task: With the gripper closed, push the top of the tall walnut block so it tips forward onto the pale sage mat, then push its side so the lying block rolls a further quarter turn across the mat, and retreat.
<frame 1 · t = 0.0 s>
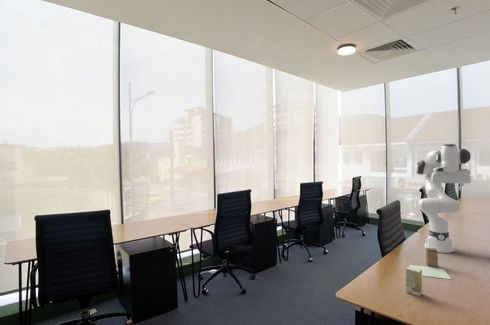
hand: (450, 190, 168), 48 cm above the table, fingers open, 8 cm apart
mat: (428, 271, 157), on the table
block: (432, 266, 165), on the table
skincare box: (414, 293, 132), on the table
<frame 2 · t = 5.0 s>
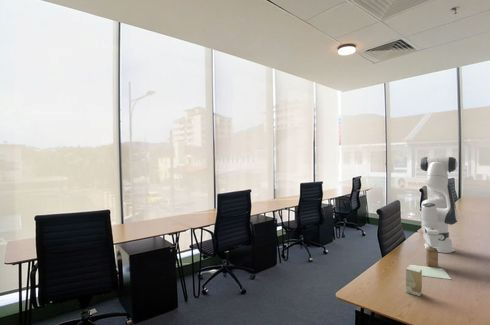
hand: (430, 250, 168), 9 cm above the table, fingers closed
block: (432, 265, 165), on the table, tilted 7°, touching gripper
everything else where it was.
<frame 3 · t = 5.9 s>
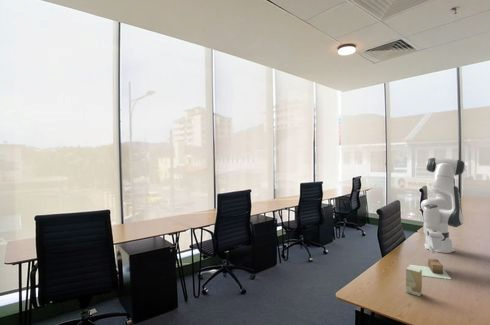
hand: (432, 252, 163), 9 cm above the table, fingers closed
block: (432, 262, 163), point 3 cm above the table, tilted 90°, touching mat
everything else where it was.
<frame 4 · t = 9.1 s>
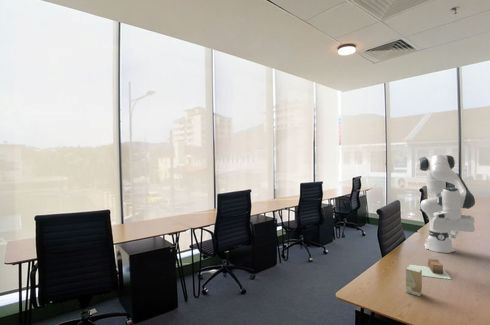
hand: (452, 238, 155), 21 cm above the table, fingers closed
nothing on the table moved.
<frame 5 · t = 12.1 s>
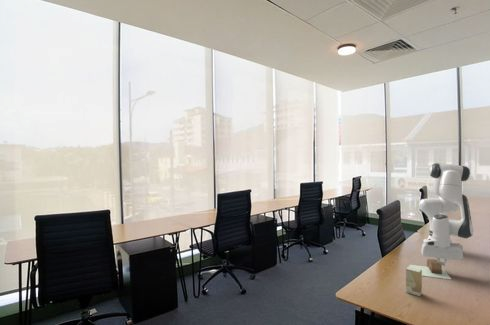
hand: (442, 265, 157), 4 cm above the table, fingers closed
block: (431, 262, 164), point 3 cm above the table, tilted 90°, touching gripper, mat
everything else where it was.
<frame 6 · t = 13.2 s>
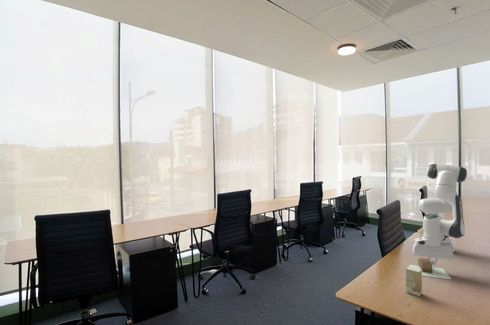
hand: (432, 264, 159), 4 cm above the table, fingers closed
block: (422, 261, 165), point 3 cm above the table, tilted 90°, touching gripper
everything else where it was.
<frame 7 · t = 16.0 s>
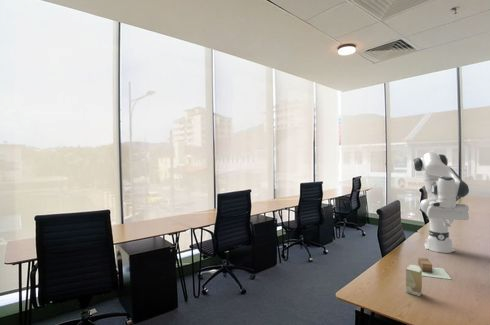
hand: (447, 226, 157), 27 cm above the table, fingers closed
block: (422, 261, 165), point 3 cm above the table, tilted 90°, touching mat
everything else where it was.
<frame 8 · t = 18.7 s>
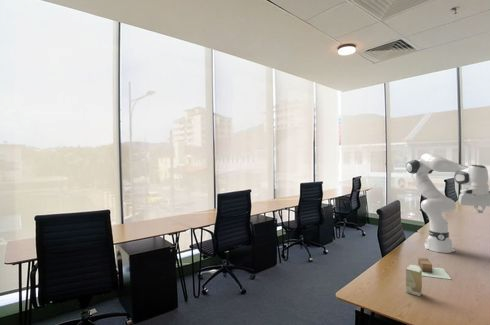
hand: (479, 213, 161), 34 cm above the table, fingers closed
nothing on the table moved.
at the end: block tilted 90°; block inside the target area (7.8 cm from its centre), point 2.9 cm above the table; block moved 6.4 cm from its start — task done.
